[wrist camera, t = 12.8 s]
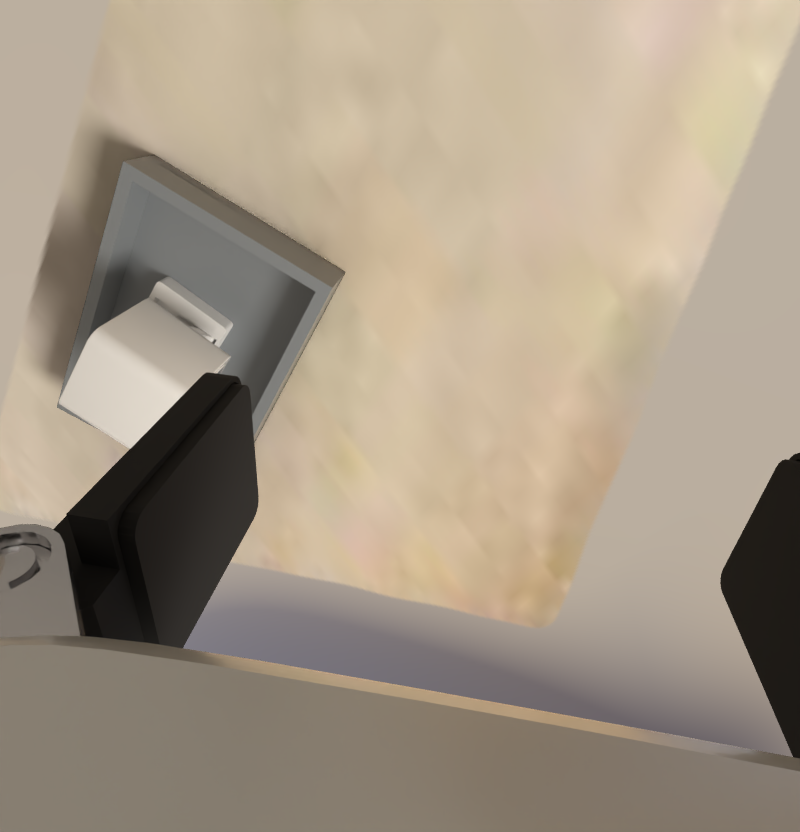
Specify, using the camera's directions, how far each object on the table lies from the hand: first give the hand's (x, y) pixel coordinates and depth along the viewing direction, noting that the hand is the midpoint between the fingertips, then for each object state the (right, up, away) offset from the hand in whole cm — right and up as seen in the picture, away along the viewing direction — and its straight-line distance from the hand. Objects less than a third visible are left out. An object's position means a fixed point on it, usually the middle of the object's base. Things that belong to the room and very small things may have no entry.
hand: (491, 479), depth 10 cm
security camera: (-17, +7, +31) cm, 36 cm away
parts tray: (-16, +7, +32) cm, 36 cm away
